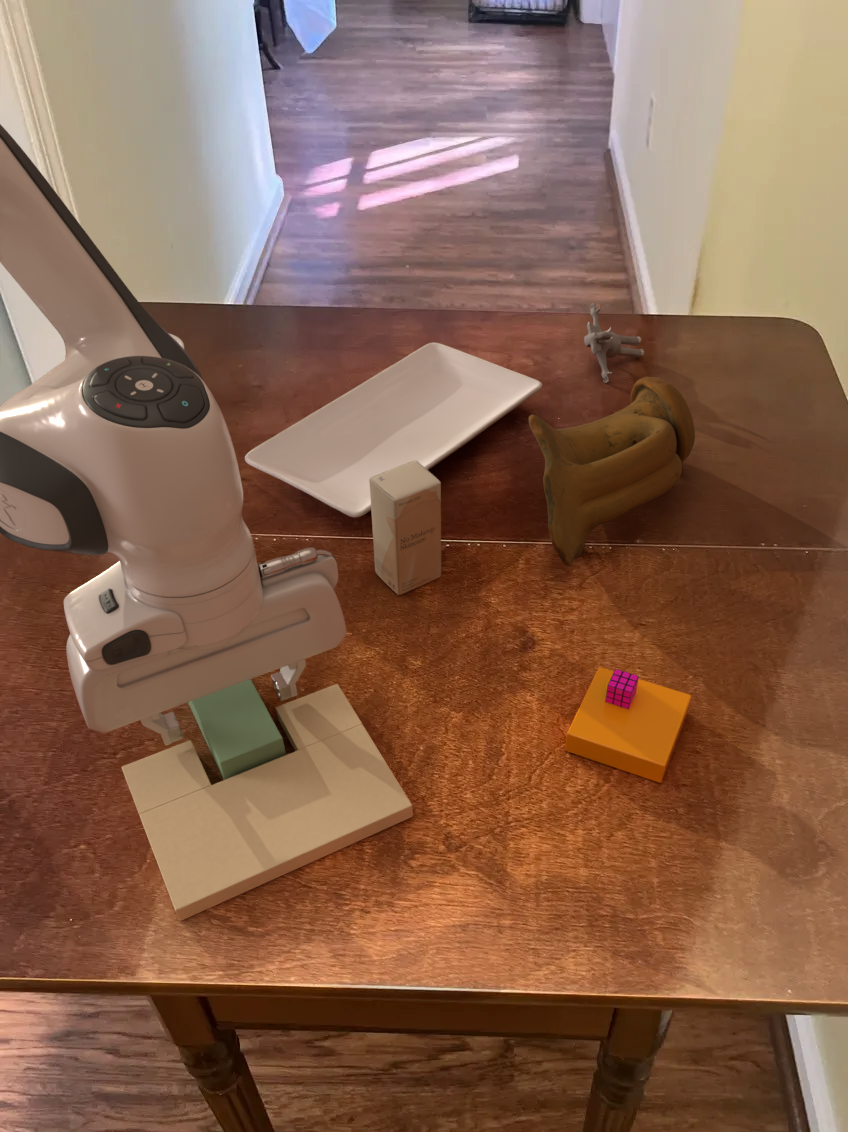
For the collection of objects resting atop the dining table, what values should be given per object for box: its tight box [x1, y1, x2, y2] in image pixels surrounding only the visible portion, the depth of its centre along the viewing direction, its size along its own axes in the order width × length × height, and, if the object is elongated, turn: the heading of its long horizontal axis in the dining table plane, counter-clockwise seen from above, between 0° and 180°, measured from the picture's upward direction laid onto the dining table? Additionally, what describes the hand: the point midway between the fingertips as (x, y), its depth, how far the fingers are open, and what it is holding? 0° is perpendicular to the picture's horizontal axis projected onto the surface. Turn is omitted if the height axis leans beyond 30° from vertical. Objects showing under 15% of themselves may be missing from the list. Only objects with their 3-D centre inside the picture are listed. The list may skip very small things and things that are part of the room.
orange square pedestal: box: [564, 666, 692, 784], centre depth 79 cm, size 8×8×4 cm
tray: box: [244, 342, 543, 518], centre depth 108 cm, size 17×32×4 cm, turn 142°
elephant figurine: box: [583, 302, 645, 384], centre depth 120 cm, size 10×6×9 cm
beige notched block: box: [121, 683, 414, 922], centre depth 75 cm, size 18×14×2 cm
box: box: [369, 460, 442, 596], centre depth 90 cm, size 5×4×11 cm
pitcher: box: [528, 376, 696, 567], centre depth 97 cm, size 18×13×22 cm
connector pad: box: [187, 679, 287, 780], centre depth 79 cm, size 10×5×3 cm, turn 29°
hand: (230, 714), depth 78 cm, fingers open, 8 cm apart
